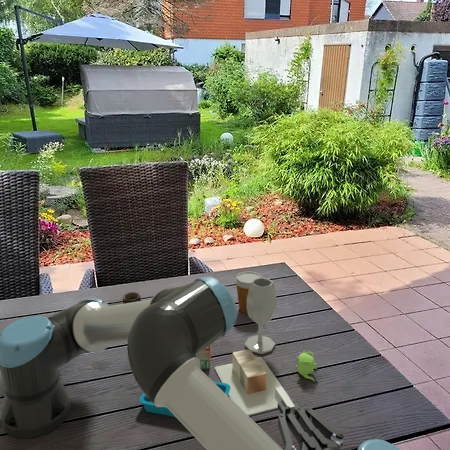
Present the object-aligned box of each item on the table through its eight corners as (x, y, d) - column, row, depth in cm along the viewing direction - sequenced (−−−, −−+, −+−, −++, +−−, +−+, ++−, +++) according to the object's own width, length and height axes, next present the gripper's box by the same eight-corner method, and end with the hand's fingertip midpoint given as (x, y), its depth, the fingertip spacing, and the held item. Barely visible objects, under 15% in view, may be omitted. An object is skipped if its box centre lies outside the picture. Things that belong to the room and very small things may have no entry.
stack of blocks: (192, 326, 143) (192, 291, 138) (212, 326, 143) (212, 292, 138) (187, 369, 122) (186, 330, 118) (210, 369, 122) (210, 330, 118)
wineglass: (280, 345, 133) (284, 281, 126) (262, 358, 127) (264, 292, 120) (257, 334, 138) (259, 272, 131) (239, 346, 132) (240, 282, 125)
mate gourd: (145, 311, 151) (144, 285, 147) (142, 323, 144) (140, 296, 140) (124, 311, 151) (122, 285, 147) (119, 324, 143) (117, 296, 140)
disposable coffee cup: (267, 306, 154) (268, 275, 150) (253, 319, 147) (254, 286, 143) (243, 299, 159) (244, 268, 155) (229, 310, 151) (229, 278, 147)
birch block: (248, 377, 111) (232, 352, 120) (247, 394, 112) (232, 368, 122) (266, 373, 112) (249, 348, 122) (265, 389, 114) (249, 364, 124)
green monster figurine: (314, 382, 117) (316, 364, 115) (294, 378, 119) (295, 360, 117) (317, 368, 123) (318, 350, 121) (297, 364, 124) (298, 347, 123)
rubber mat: (240, 418, 105) (240, 416, 105) (214, 368, 123) (214, 367, 123) (293, 404, 110) (293, 402, 110) (261, 358, 127) (261, 356, 127)
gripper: (302, 505, 79) (250, 412, 100) (364, 484, 83) (302, 399, 104) (305, 473, 76) (251, 384, 97) (369, 453, 80) (304, 372, 101)
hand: (278, 392), depth 100 cm, fingers closed
